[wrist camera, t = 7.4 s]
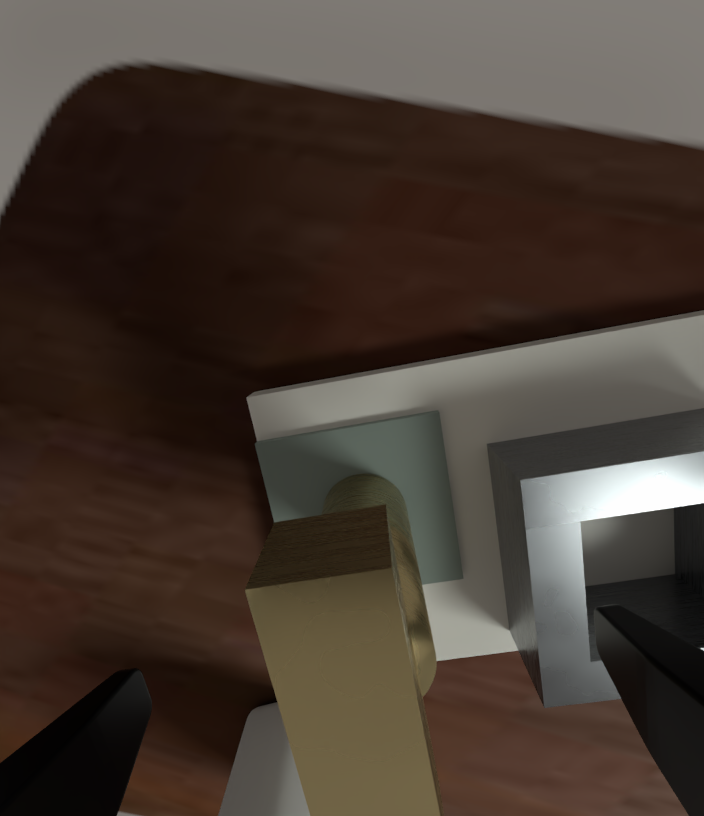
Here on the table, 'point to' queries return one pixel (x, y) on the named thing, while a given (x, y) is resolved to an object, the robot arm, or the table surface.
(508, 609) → the grey square frame
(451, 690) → the table surface
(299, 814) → the eye dropper bottle
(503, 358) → the board
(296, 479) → the mat
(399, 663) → the tan flat lever
